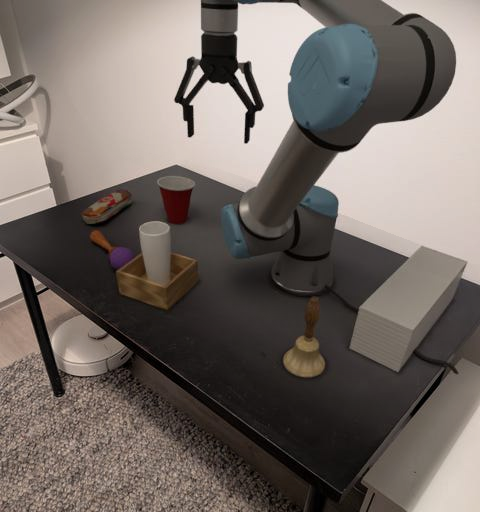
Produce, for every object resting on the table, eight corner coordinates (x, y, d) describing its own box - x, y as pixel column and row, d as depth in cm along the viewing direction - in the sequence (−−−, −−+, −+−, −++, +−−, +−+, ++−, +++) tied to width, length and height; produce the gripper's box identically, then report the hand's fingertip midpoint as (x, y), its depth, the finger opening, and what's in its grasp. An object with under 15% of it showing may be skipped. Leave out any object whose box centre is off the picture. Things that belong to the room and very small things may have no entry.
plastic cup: (203, 222, 135) (202, 183, 128) (170, 231, 130) (167, 191, 123) (185, 209, 142) (183, 171, 135) (153, 216, 137) (150, 178, 130)
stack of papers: (398, 372, 89) (413, 330, 82) (349, 348, 94) (359, 306, 87) (452, 300, 109) (467, 261, 102) (409, 283, 114) (421, 245, 107)
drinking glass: (145, 277, 110) (139, 221, 101) (173, 276, 111) (170, 220, 102) (144, 293, 105) (137, 235, 96) (173, 292, 106) (169, 235, 96)
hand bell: (329, 377, 87) (344, 311, 77) (286, 378, 86) (296, 312, 76) (320, 348, 93) (332, 283, 83) (280, 349, 93) (288, 284, 83)
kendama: (106, 224, 124) (139, 251, 110) (106, 245, 126) (138, 273, 113) (85, 226, 120) (115, 253, 107) (85, 247, 123) (115, 276, 110)
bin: (198, 281, 111) (197, 260, 107) (167, 310, 101) (165, 288, 98) (152, 267, 115) (150, 245, 112) (119, 293, 106) (115, 271, 102)
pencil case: (71, 219, 134) (68, 203, 131) (121, 198, 147) (119, 183, 144) (97, 230, 129) (94, 214, 126) (146, 207, 142) (144, 192, 139)
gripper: (281, 35, 95) (273, 139, 108) (168, 27, 98) (173, 129, 112) (276, 39, 89) (267, 149, 102) (155, 30, 93) (162, 137, 106)
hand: (218, 139), depth 107 cm, fingers open, 13 cm apart
